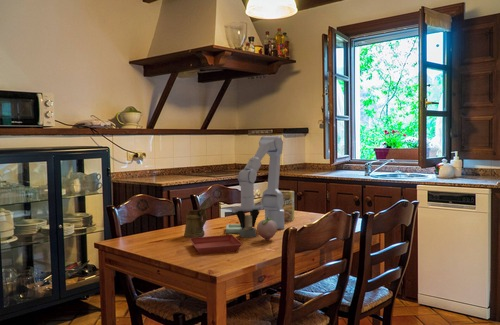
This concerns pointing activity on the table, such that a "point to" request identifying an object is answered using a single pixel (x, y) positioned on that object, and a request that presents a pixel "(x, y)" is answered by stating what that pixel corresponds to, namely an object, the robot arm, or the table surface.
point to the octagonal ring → (247, 233)
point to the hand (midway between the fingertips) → (247, 227)
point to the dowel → (248, 222)
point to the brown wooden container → (196, 221)
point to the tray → (233, 228)
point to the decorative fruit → (267, 228)
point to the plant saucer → (216, 244)
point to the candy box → (288, 205)
